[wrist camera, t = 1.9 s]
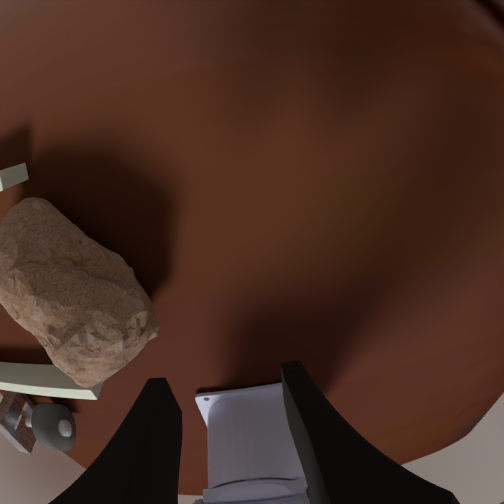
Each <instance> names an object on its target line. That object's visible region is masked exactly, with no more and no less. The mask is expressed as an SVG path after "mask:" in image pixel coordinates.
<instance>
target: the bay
mask: <svg viewBox="0 0 504 504" xmlns="http://www.w3.org/2000/svg"><path fill="white" fill-rule="evenodd" d="M28 179H29V178H28V173H27V168H26V163H22V164H19V165H16V166H13V167H9V168H6V169H3V170H0V191H2V190H4V189H7V188H9V187H11V186H14V185H16V184H18V183H21V182H23V181H26V180H28ZM102 384H103V381H102V382H100V383H98V384H96V385H94V386H93V387H89V388H85V387H83V386H80V385H77V384H76V383H75V382H74V380H73V379H72V378H71V377H69V376H68V375H66V374H65V373H64V372H63V371H61V370H60V369H59V368H58V367H56V366H55V365H43V364H23V363H9V362H0V389H2V390H8V391H14V392H20V393H27V394H35V395H43V396H52V397H63V398H76V399H95V400H97V399H98V396H99V393H100V390H101V387H102Z"/></svg>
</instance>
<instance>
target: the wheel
mask: <svg viewBox="0 0 504 504" xmlns="http://www.w3.org/2000/svg"><path fill="white" fill-rule="evenodd" d="M25 424H26V425H27V426H28V427H32V431H33V434H34V436H35V438H36V440H37V441H38V442H39V443H40V444H41V445H42V446H44V447H47V448H51V449H56V450H60V451H68V450H70V449H71V448H72V446H73V445H74V443H75V439H76V425H75V421H74V418H73V415H72V413H71V412H70V410H69V409H68V408H67V407H66V406H64V405H61V404H53V403H45V402H42V403H39V404H38V405H37V406H36V407H35V408H34V410H33V413H32V417H26V418H25Z"/></svg>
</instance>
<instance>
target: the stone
mask: <svg viewBox="0 0 504 504" xmlns="http://www.w3.org/2000/svg"><path fill="white" fill-rule="evenodd" d="M0 303H1V304H2V305H3V306H4V308H5V309H6V310H7V312H8V313H9V314H10V315H11V316H12V318H13V319H14V320H15V321H16V322H18V323H19V324H20V325H21V326H22V327H24V328H25V329H26V330H28V331H30V332H31V333H32V334H33V335H34V336H35V337H36V338H37V340H38V341H39V342H40V343H41V345H42V346H43V347H44V348H45V350H46V352H47V354H48V356H49V357H50V359H51V360H52V362H53V364H54V365H55V366H56V367H58V368H59V369H60V370H61V371H63V372H64V373H65V374H66V375H68V376H69V377H71V378H72V379H73V380H74V382H75V383H76V384H77V385H80V386H83V387H85V388H89V387H93V386H94V385H96V384H98V383H100V382H102V381H104V380H105V379H107V378H109V377H110V376H112V375H113V374H114V373H116V372H117V371H119V370H120V369H121V368H122V367H124V366H126V364H127V363H128V362H129V361H131V360H132V359H133V358H134V357H135V356H137V355H138V353H139V352H140V351H141V349H142V348H143V347H145V345H146V343H147V342H148V341H149V340H151V339H153V338H154V337H156V336H157V335H158V331H159V325H158V322H157V319H156V317H155V315H154V306H153V304H152V302H151V301H150V299H149V297H148V295H147V294H146V292H145V291H144V289H143V288H142V287H141V285H140V284H139V283H138V282H137V280H136V278H135V275H134V270H133V268H131V267H129V266H128V265H127V264H126V262H125V261H124V259H123V258H122V257H121V256H120V255H118V254H117V253H114V252H112V251H110V250H108V249H107V248H105V247H103V246H102V245H100V244H99V243H97V242H96V241H94V240H92V239H91V238H89V237H87V236H86V235H85V234H84V232H83V231H81V230H80V229H79V228H78V227H77V225H75V224H73V223H71V221H70V220H69V219H67V218H66V217H65V216H64V215H63V214H62V213H61V212H59V211H58V210H57V209H56V208H55V207H54V206H53V205H52V204H51V203H50V202H49V201H47V200H46V199H42V198H36V197H31V198H25V199H24V200H22V201H21V202H19V203H18V204H16V205H15V206H13V207H11V208H9V209H8V212H7V214H6V215H5V217H4V218H3V219H2V221H1V222H0Z"/></svg>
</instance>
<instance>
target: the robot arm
mask: <svg viewBox="0 0 504 504" xmlns="http://www.w3.org/2000/svg"><path fill="white" fill-rule="evenodd" d="M280 367H281V378H282V383H276V384H270V385H263V386H257V387H250V388H243V389H235V390H227V391H218V392H208V393H199V394H196V396H195V400H196V403H197V405H198V407H199V409H200V412H201V414H202V416H203V418H204V421H205V423H206V425H207V427H208V489H204V490H203V499H198V500H196V501H195V502H194V503H193V504H460V503H459V501H458V500H457V499H456V497H455V496H454V494H453V493H452V492H450V491H448V490H446V489H444V488H441V487H439V486H437V485H435V484H433V483H430V482H428V481H426V480H424V479H423V478H421V477H419V476H417V475H415V474H414V473H412V472H410V471H408V470H407V469H405V468H404V467H402V466H401V465H399V464H398V463H396V462H395V461H393V460H392V459H390V458H389V457H387V456H386V455H384V454H383V453H382V452H380V451H379V450H378V449H377V448H375V447H374V446H373V445H372V444H370V443H369V442H368V441H367V440H366V439H365V438H363V437H362V436H361V435H360V434H359V433H358V432H357V431H356V430H355V429H354V428H353V427H352V426H351V425H350V424H349V423H348V422H347V421H346V420H345V419H344V418H343V417H342V416H341V415H340V414H339V413H338V412H337V411H336V409H335V408H334V407H333V406H332V405H331V404H330V402H329V401H328V400H327V399H326V398H325V396H324V395H323V394H322V392H321V391H320V390H319V389H318V387H317V386H316V384H315V383H314V382H313V380H312V379H311V377H310V376H309V374H308V373H307V371H306V369H305V368H304V366H303V364H302V362H300V361H293V362H287V363H282V364H280ZM206 397H207V398H206ZM181 446H182V411H181V409H180V407H179V405H178V403H177V401H176V399H175V397H174V395H173V393H172V391H171V388H170V386H169V384H168V382H167V380H166V378H149V379H148V380H147V382H146V384H145V385H144V387H143V389H142V391H141V392H140V394H139V396H138V397H137V399H136V401H135V402H134V404H133V406H132V407H131V409H130V411H129V412H128V414H127V416H126V417H125V419H124V420H123V422H122V423H121V425H120V427H119V428H118V430H117V431H116V433H115V434H114V435H113V437H112V438H111V440H110V441H109V442H108V444H107V445H106V447H105V448H104V449H103V451H102V452H101V453H100V454H99V456H98V457H97V458H96V459H95V461H94V462H93V463H92V464H91V465H90V466H89V467H88V469H87V470H86V471H85V472H84V473H83V474H82V475H81V476H80V477H79V478H78V479H77V480H76V481H75V482H74V483H73V484H72V485H71V486H70V487H68V488H67V489H66V490H65V491H64V492H62V493H61V494H60V495H59V496H57V497H56V498H55V499H54V500H52V501H51V502H50V503H48V504H178V479H179V467H180V457H181ZM306 487H308V489H306ZM500 504H504V502H502V503H500Z"/></svg>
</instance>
